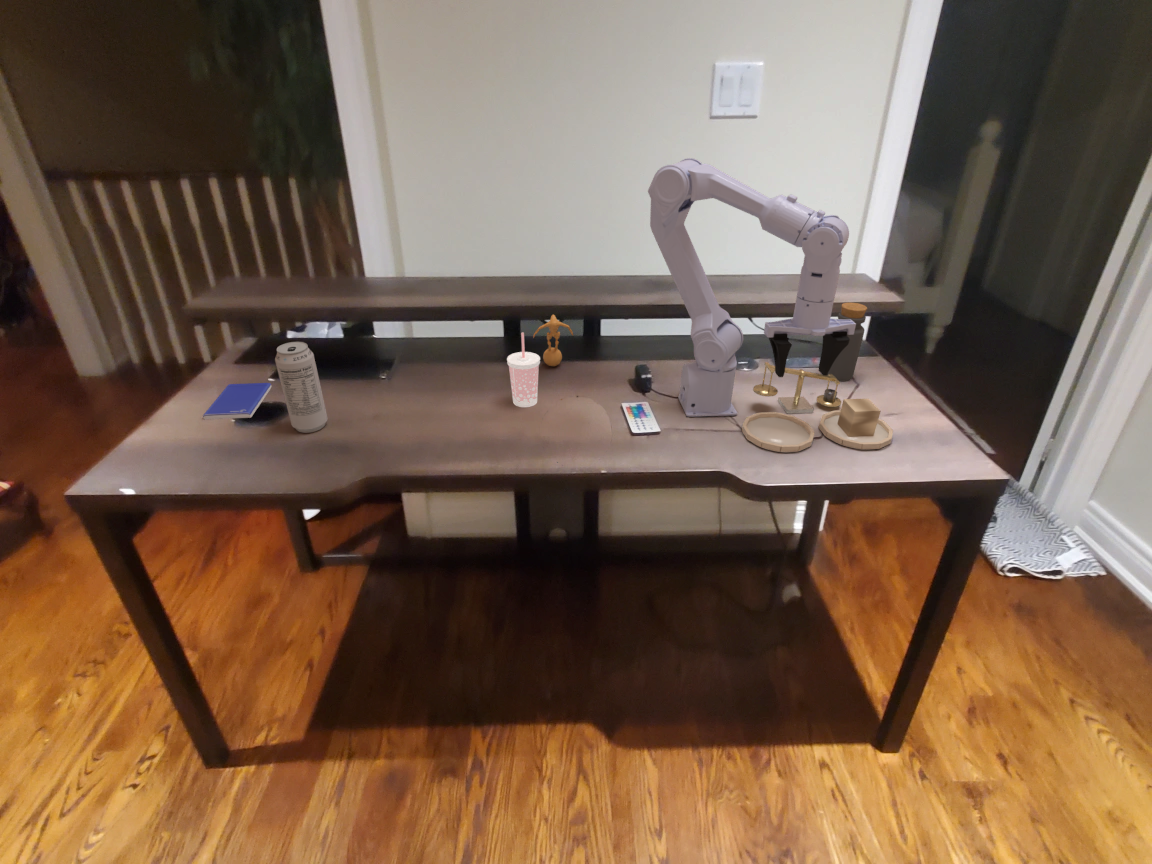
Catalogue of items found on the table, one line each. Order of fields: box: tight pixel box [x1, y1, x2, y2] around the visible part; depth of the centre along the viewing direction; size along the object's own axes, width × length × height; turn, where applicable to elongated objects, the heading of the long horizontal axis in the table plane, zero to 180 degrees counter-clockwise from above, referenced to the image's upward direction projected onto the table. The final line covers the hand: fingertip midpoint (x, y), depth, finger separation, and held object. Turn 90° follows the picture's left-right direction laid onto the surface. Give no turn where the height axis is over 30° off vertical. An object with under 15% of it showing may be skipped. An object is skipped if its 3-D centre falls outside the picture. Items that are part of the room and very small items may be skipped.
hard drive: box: [202, 382, 272, 420], centre depth 120 cm, size 2×8×12 cm
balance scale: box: [752, 361, 842, 415], centre depth 119 cm, size 17×5×9 cm, turn 94°
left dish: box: [741, 411, 815, 453], centre depth 111 cm, size 12×12×1 cm
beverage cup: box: [506, 332, 541, 408], centre depth 118 cm, size 6×6×14 cm
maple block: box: [837, 398, 881, 437], centre depth 111 cm, size 4×4×5 cm
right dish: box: [818, 409, 894, 451], centre depth 112 cm, size 12×12×1 cm
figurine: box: [532, 314, 574, 367], centre depth 132 cm, size 8×6×12 cm
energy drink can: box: [274, 341, 328, 434], centre depth 109 cm, size 6×6×15 cm
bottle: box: [827, 302, 868, 382], centre depth 129 cm, size 6×6×15 cm
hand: (801, 374), depth 109 cm, fingers open, 7 cm apart
